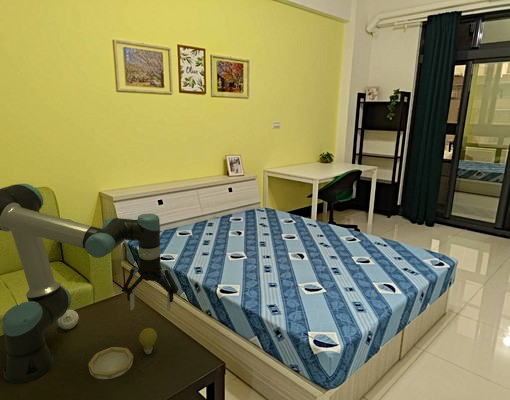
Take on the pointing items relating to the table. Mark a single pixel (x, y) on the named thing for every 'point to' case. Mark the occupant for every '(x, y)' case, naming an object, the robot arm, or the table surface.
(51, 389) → the table surface
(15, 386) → the table surface
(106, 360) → the socket base
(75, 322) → the motion sensor
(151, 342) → the light bulb
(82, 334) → the table surface
